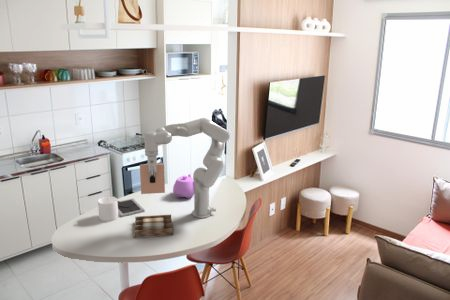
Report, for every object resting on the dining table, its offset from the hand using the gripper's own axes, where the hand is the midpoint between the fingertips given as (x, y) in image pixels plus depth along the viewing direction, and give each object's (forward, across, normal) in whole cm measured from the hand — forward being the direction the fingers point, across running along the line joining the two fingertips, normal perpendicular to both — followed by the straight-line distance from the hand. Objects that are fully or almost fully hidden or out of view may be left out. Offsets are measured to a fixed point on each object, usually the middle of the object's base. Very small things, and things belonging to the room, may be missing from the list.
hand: (152, 181), depth 234 cm
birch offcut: (+28, -6, 0) cm, 29 cm away
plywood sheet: (+7, 0, 0) cm, 7 cm away
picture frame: (+29, +24, +17) cm, 41 cm away
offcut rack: (+28, -6, 0) cm, 29 cm away
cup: (+28, +12, +28) cm, 42 cm away
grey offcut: (+28, -12, 0) cm, 31 cm away
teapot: (+29, +41, -25) cm, 56 cm away
